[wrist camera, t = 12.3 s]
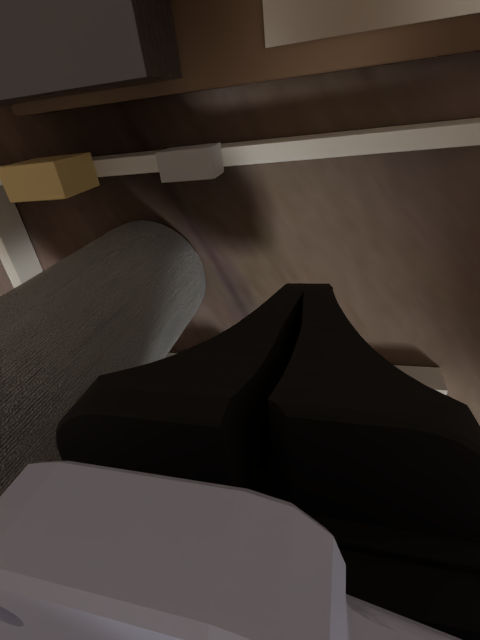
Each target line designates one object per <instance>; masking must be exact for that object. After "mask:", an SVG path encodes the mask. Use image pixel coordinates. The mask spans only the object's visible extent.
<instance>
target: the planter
mask: <svg viewBox="0 0 480 640" xmlns="http://www.w3.org/2000/svg"><path fill="white" fill-rule="evenodd" d="M205 288H206V279H205V273H204V269H203V265H202V263H201V261H200V259H199V257H198V255H197V253H196V252H195V250H194V249H193V247H192V246H191V245H190V244H189V243H188V242H187V240H186V239H184V238H183V237H182V236H181V235H180V234H179V233H177V232H176V231H174V230H173V229H171V228H169V227H167V226H165V225H163V224H160V223H157V222H153V221H146V220H137V221H131V222H128V223H125V224H123V225H121V226H118V227H116V228H114V229H112V230H111V231H109V232H107V233H106V234H104V235H102V236H101V237H99V238H97V239H96V240H94V241H92V242H91V243H89V244H87V245H86V246H84V247H82V248H81V249H79V250H77V251H76V252H74V253H72V254H71V255H69V256H67V257H66V258H64V259H62V260H61V261H59V262H57V263H56V264H54V265H52V266H51V267H49V268H47V269H46V270H44V271H42V272H41V273H39V274H37V275H36V276H34V277H32V278H31V279H29V280H27V281H26V282H24V283H22V284H21V285H19V286H17V287H16V288H14V289H12V290H11V291H9V292H7V293H6V294H4V295H2V296H1V297H0V497H1V496H2V494H3V493H4V492H5V491H6V490H7V488H8V487H9V486H10V485H11V484H12V483H13V481H14V480H15V479H16V478H17V477H18V476H19V474H20V473H21V472H22V471H23V470H24V469H25V467H26V466H27V465H28V464H32V463H39V462H54V461H62V459H61V456H60V453H59V451H58V448H57V445H56V428H57V426H58V424H59V422H60V420H61V419H62V417H63V416H64V415H65V414H66V413H67V412H68V410H69V409H70V408H71V407H72V406H73V405H74V404H75V402H76V401H77V400H78V399H79V398H80V397H81V396H82V394H83V393H84V392H85V391H86V390H87V389H88V387H89V386H90V385H91V384H92V383H93V382H94V381H95V379H96V378H97V377H98V376H99V375H103V374H108V373H112V372H117V371H121V370H125V369H129V368H133V367H137V366H141V365H144V364H148V363H151V362H154V361H157V360H160V359H164V358H165V357H166V356H167V354H168V353H169V351H170V350H171V348H172V347H173V345H174V344H175V342H176V341H177V339H178V338H179V337H180V335H181V334H182V332H183V331H184V329H185V328H186V326H187V325H188V323H189V322H190V320H191V319H192V317H193V316H194V314H195V313H196V311H197V310H198V308H199V306H200V304H201V302H202V300H203V298H204V294H205Z"/></svg>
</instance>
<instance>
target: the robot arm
mask: <svg viewBox="0 0 480 640" xmlns="http://www.w3.org/2000/svg"><path fill="white" fill-rule="evenodd" d="M56 445H57V448H58V451H59V453H60V456H61V459H62V461H54V462H39V463H32V464H28V465H27V466H26V467H25V469H24V470H23V471H22V472H21V473H20V474H19V476H18V477H17V478H16V479H15V480H14V481H13V483H12V484H11V485H10V486H9V487H8V488H7V490H6V491H5V492H4V493H3V494H2V496H1V497H0V640H480V426H479V424H478V422H477V421H476V419H475V417H474V416H473V414H472V412H471V411H470V409H469V407H468V406H467V405H465V404H463V403H461V402H459V401H457V400H455V399H453V398H451V397H449V396H447V395H445V394H443V393H441V392H438V391H436V390H434V389H432V388H430V387H428V386H426V385H425V384H423V383H421V382H419V381H418V380H416V379H414V378H413V377H411V376H409V375H408V374H406V373H404V372H403V371H401V370H400V369H398V368H397V367H395V366H394V365H393V364H391V363H390V362H389V361H387V360H386V359H385V358H384V357H382V356H381V355H380V354H378V353H377V352H376V351H375V350H374V349H373V348H372V347H371V346H370V345H369V344H368V343H367V342H366V341H365V340H364V339H363V338H362V337H361V336H360V334H359V333H358V332H357V331H356V330H355V328H354V327H353V326H352V324H351V323H350V322H349V320H348V319H347V317H346V316H345V314H344V313H343V311H342V309H341V308H340V306H339V304H338V302H337V300H336V298H335V295H334V293H333V287H332V286H331V285H330V284H286V285H284V286H283V287H282V288H281V289H280V290H278V291H277V292H276V293H275V294H274V295H273V296H272V297H271V298H269V299H268V300H267V301H266V302H265V303H263V304H262V305H261V306H260V307H259V308H257V309H256V310H255V311H253V312H252V313H251V314H249V315H248V316H246V317H245V318H244V319H242V320H241V321H240V322H238V323H237V324H235V325H234V326H232V327H231V328H229V329H227V330H226V331H224V332H222V333H220V334H218V335H217V336H215V337H213V338H211V339H209V340H207V341H205V342H203V343H200V344H198V345H196V346H194V347H192V348H189V349H187V350H185V351H183V352H180V353H177V354H175V355H172V356H169V357H166V358H164V359H160V360H157V361H154V362H151V363H148V364H144V365H141V366H137V367H133V368H129V369H125V370H121V371H117V372H112V373H108V374H103V375H99V376H98V377H97V378H96V379H95V381H94V382H93V383H92V384H91V385H90V386H89V387H88V389H87V390H86V391H85V392H84V393H83V394H82V396H81V397H80V398H79V399H78V400H77V401H76V402H75V404H74V405H73V406H72V407H71V408H70V409H69V410H68V412H67V413H66V414H65V415H64V416H63V417H62V419H61V420H60V422H59V424H58V426H57V428H56Z"/></svg>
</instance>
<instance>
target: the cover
mask: <svg viewBox="0 0 480 640" xmlns="http://www.w3.org/2000/svg"><path fill="white" fill-rule="evenodd" d="M182 78H183V76H182V70H181V64H180V57H179V51H178V45H177V39H176V33H175V26H174V20H173V14H172V8H171V1H170V0H0V106H6V105H13V104H19V103H26V102H32V101H39V100H45V99H52V98H58V97H65V96H71V95H78V94H84V93H91V92H97V91H104V90H110V89H117V88H123V87H130V86H136V85H143V84H149V83H156V82H162V81H169V80H175V79H182Z"/></svg>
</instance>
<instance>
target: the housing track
mask: <svg viewBox="0 0 480 640" xmlns="http://www.w3.org/2000/svg"><path fill="white" fill-rule="evenodd" d="M170 1H171V8H172V14H173V20H174V26H175V33H176V39H177V45H178V51H179V57H180V64H181V70H182V76H183V78H182V79H175V80H169V81H162V82H156V83H149V84H143V85H136V86H130V87H123V88H117V89H110V90H104V91H97V92H91V93H84V94H78V95H71V96H65V97H58V98H52V99H45V100H39V101H32V102H26V103H19V104H13V105H11V107H12V110H13V112H14V115H15V116H24V115H34V114H41V113H48V112H55V111H62V110H69V109H76V108H83V107H90V106H97V105H104V104H111V103H118V102H125V101H132V100H139V99H146V98H153V97H160V96H167V95H174V94H181V93H188V92H195V91H202V90H209V89H216V88H223V87H230V86H237V85H244V84H251V83H258V82H265V81H272V80H279V79H286V78H293V77H300V76H307V75H314V74H321V73H329V72H336V71H343V70H350V69H357V68H364V67H371V66H378V65H385V64H392V63H399V62H406V61H413V60H420V59H427V58H434V57H441V56H448V55H455V54H462V53H469V52H476V51H480V0H170Z"/></svg>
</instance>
